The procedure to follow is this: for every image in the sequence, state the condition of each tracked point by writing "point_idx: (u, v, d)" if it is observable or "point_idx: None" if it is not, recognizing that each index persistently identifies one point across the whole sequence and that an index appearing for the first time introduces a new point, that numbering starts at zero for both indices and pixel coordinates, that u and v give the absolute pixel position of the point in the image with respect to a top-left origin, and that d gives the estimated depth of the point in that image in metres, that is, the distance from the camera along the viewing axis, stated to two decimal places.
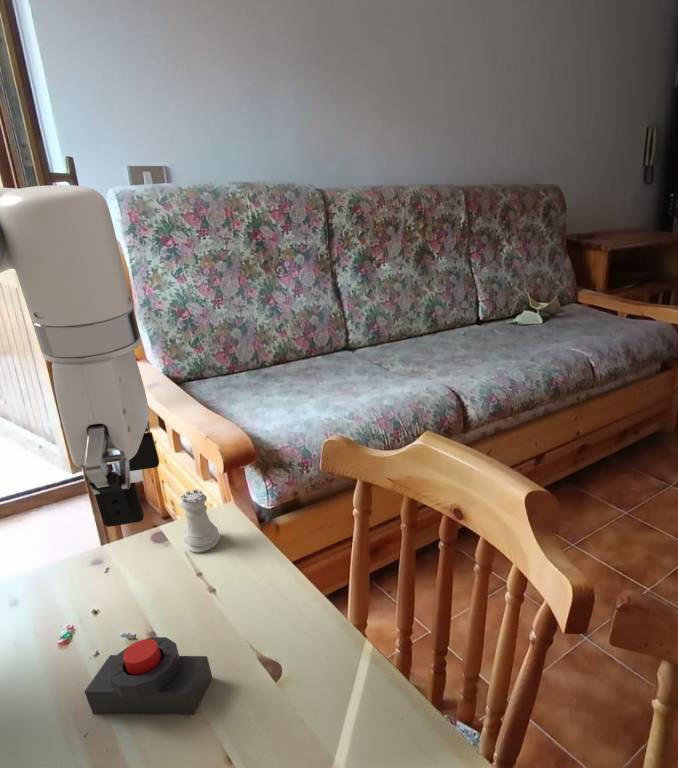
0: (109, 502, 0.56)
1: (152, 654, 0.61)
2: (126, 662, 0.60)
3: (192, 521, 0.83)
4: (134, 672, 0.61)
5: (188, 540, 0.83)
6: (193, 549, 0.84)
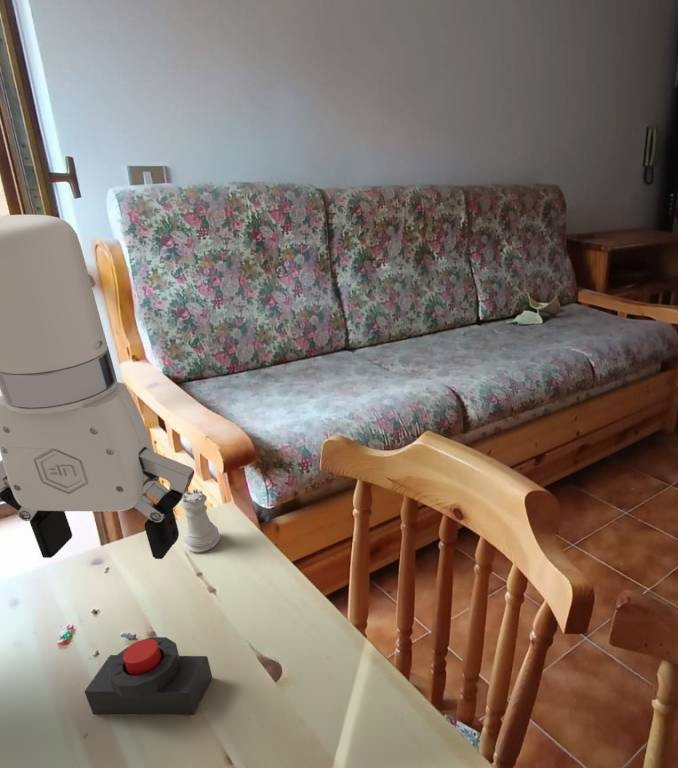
0: (167, 524, 0.55)
1: (152, 654, 0.61)
2: (126, 662, 0.60)
3: (192, 521, 0.83)
4: (134, 672, 0.61)
5: (188, 540, 0.83)
6: (193, 549, 0.84)
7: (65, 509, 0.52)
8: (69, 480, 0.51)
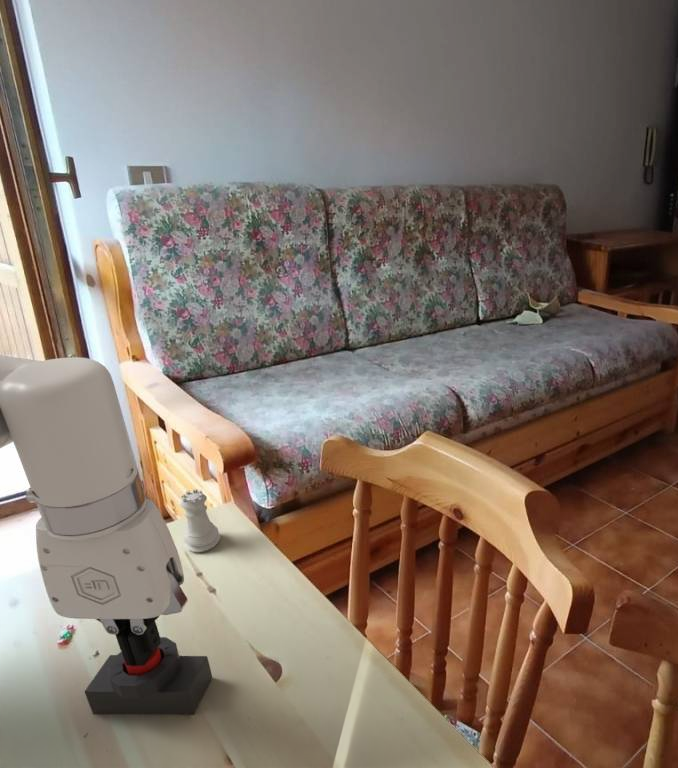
0: (149, 634, 0.60)
1: (153, 657, 0.61)
2: None
3: (192, 521, 0.83)
4: None
5: (188, 540, 0.83)
6: (193, 549, 0.84)
7: (99, 617, 0.56)
8: (103, 593, 0.55)
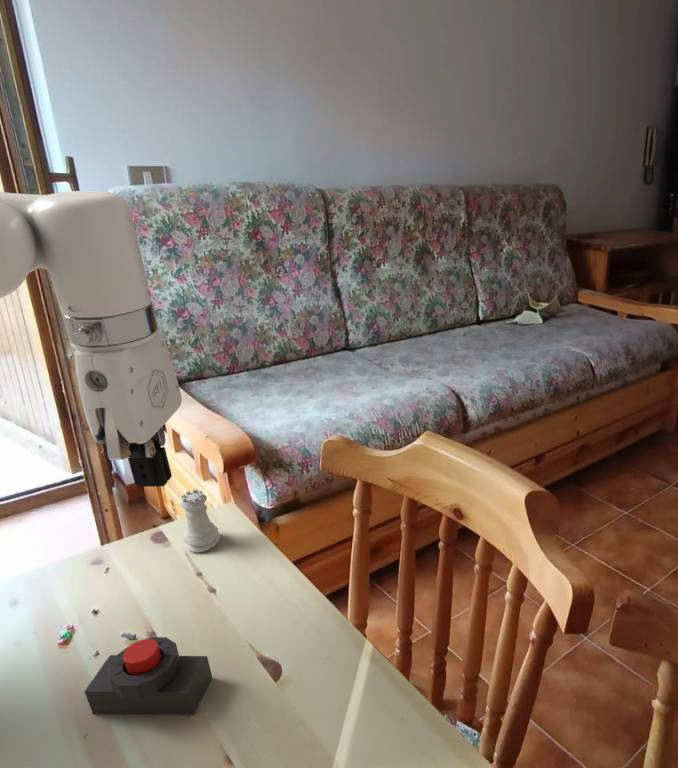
0: None
1: (152, 654, 0.61)
2: (126, 662, 0.60)
3: (192, 521, 0.83)
4: (134, 672, 0.61)
5: (188, 540, 0.83)
6: (193, 549, 0.84)
7: (162, 424, 0.65)
8: (160, 395, 0.65)
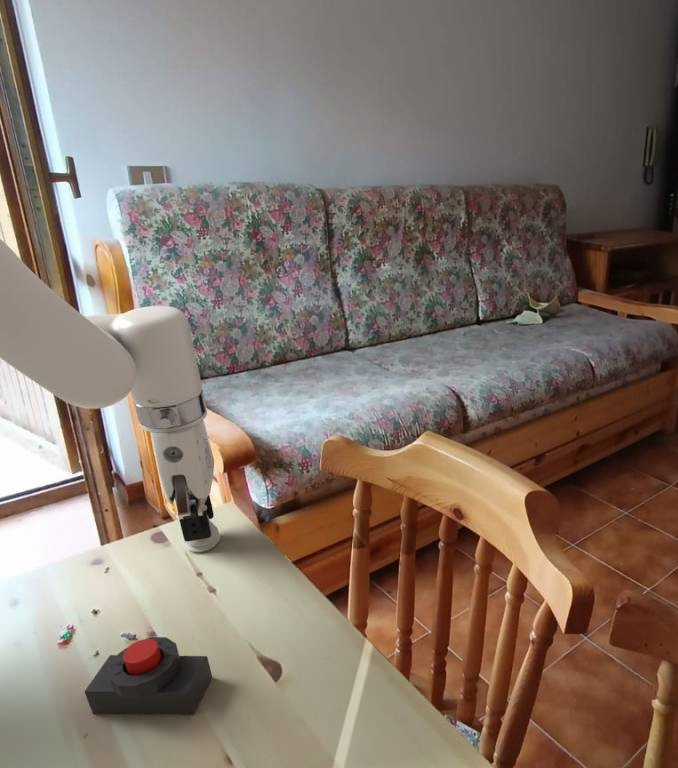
0: None
1: (152, 654, 0.61)
2: (126, 662, 0.60)
3: None
4: (134, 672, 0.61)
5: None
6: (193, 549, 0.84)
7: (211, 480, 0.82)
8: (208, 458, 0.81)
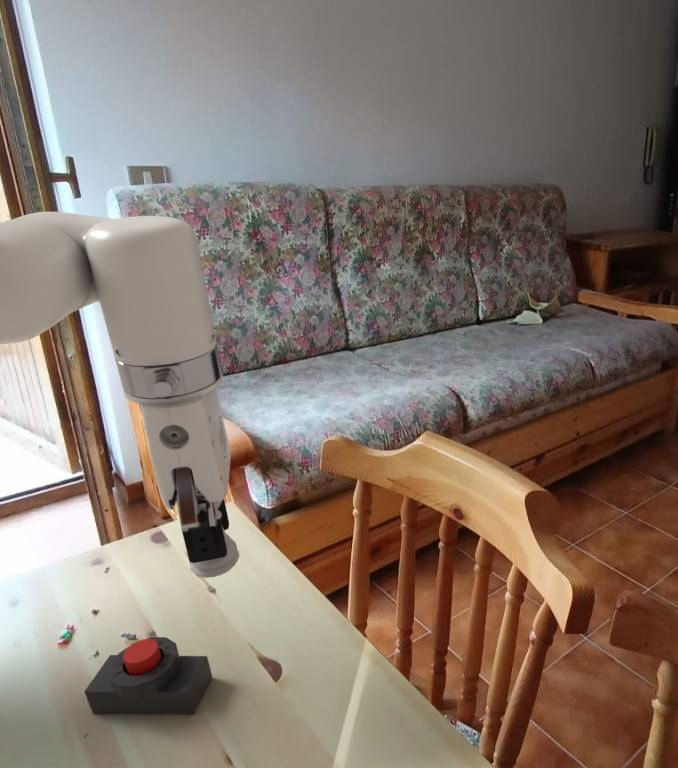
0: None
1: (152, 654, 0.61)
2: (126, 662, 0.60)
3: None
4: (134, 672, 0.61)
5: None
6: (202, 573, 0.59)
7: (228, 476, 0.57)
8: (223, 444, 0.57)
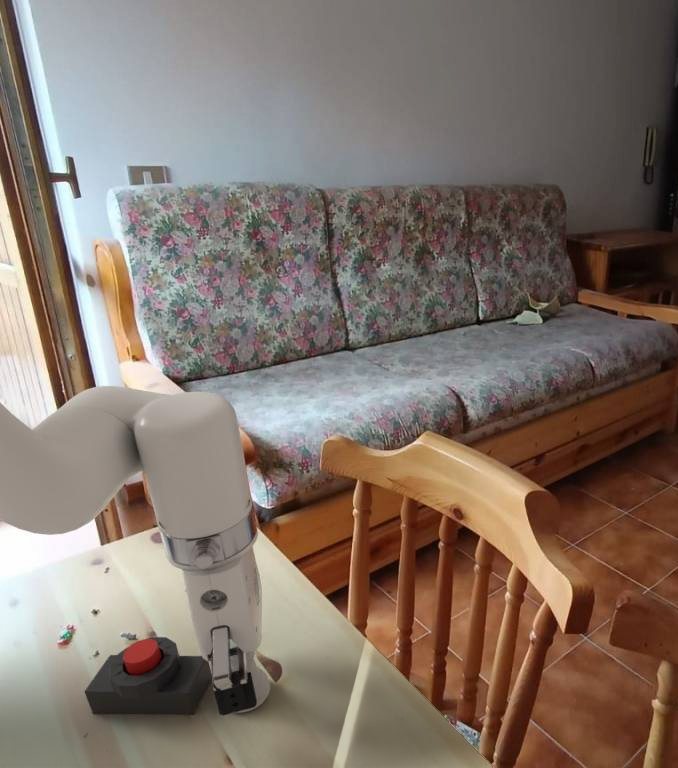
0: None
1: (152, 654, 0.61)
2: (126, 662, 0.60)
3: None
4: (134, 672, 0.61)
5: None
6: None
7: (261, 618, 0.60)
8: (256, 588, 0.60)
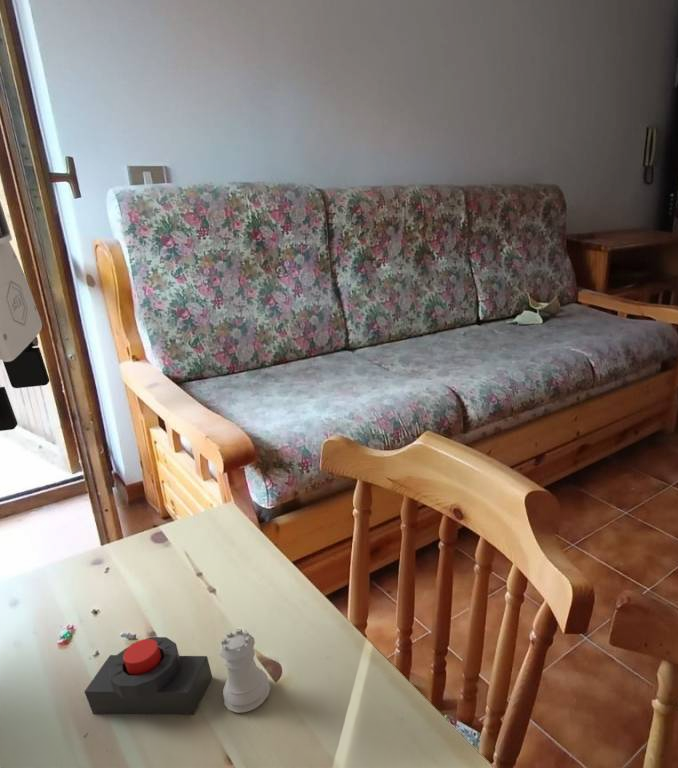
0: None
1: (152, 654, 0.61)
2: (126, 662, 0.60)
3: (235, 673, 0.61)
4: (134, 672, 0.61)
5: (230, 697, 0.62)
6: (236, 709, 0.62)
7: (26, 344, 0.58)
8: (20, 312, 0.58)
